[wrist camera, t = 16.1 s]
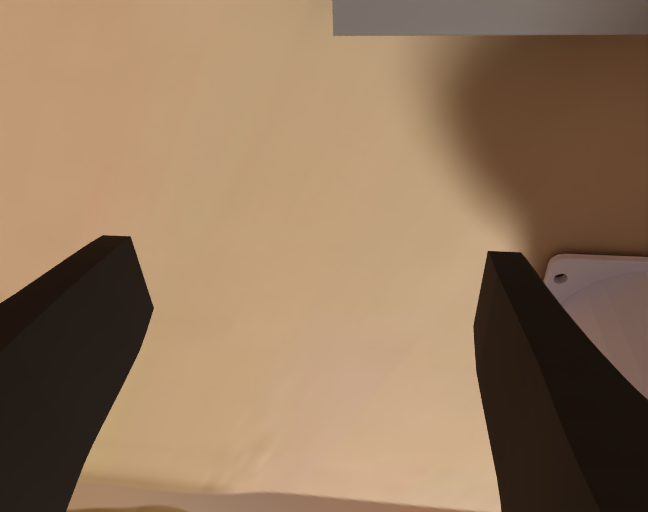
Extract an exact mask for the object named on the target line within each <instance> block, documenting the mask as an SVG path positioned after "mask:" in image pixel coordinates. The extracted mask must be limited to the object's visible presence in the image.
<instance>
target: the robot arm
mask: <svg viewBox="0 0 648 512" xmlns="http://www.w3.org/2000/svg"><path fill="white" fill-rule="evenodd" d="M558 274H564V275H563V276H561V277H555V276H556V275H558ZM153 309H154V307H153V304H152V301H151V298H150V295H149V292H148V289H147V286H146V283H145V280H144V277H143V273H142V270H141V267H140V264H139V261H138V258H137V255H136V252H135V249H134V246H133V243H132V239H131V237H130V236H105V235H103V236H101V237H99V238H98V239H96V240H94V241H93V242H91V243H89V244H88V245H86V246H85V247H83V248H82V249H80V250H79V251H77V252H76V253H74V254H73V255H71V256H70V257H68V258H67V259H65V260H64V261H62V262H61V263H60V264H58V265H57V266H55V267H54V268H52V269H51V270H49V271H48V272H46V273H45V274H44V275H42V276H41V277H39V278H38V279H36V280H35V281H33V282H32V283H30V284H29V285H27V286H26V287H24V288H23V289H22V290H20V291H19V292H17V293H16V294H14V295H13V296H11V297H10V298H8V299H6V300H5V301H3V302H2V303H0V512H66V510H67V507H68V504H69V502H70V499H71V497H72V494H73V491H74V489H75V486H76V483H77V481H78V478H79V476H80V473H81V470H82V468H83V465H84V463H85V461H86V458H87V456H88V454H89V452H90V450H91V447H92V445H93V443H94V441H95V439H96V437H97V435H98V433H99V431H100V429H101V427H102V425H103V423H104V421H105V419H106V417H107V415H108V413H109V411H110V409H111V407H112V405H113V403H114V401H115V399H116V397H117V395H118V394H119V392H120V390H121V388H122V386H123V384H124V382H125V380H126V378H127V376H128V374H129V371H130V369H131V367H132V365H133V363H134V361H135V359H136V357H137V355H138V353H139V351H140V348H141V345H142V343H143V340H144V337H145V334H146V331H147V328H148V325H149V322H150V319H151V315H152V312H153ZM473 327H474V343H475V358H476V371H477V377H478V383H479V388H480V393H481V399H482V404H483V409H484V414H485V419H486V424H487V430H488V435H489V440H490V445H491V450H492V455H493V460H494V465H495V470H496V475H497V481H498V488H499V494H500V501H501V511H502V512H648V257H636V256H611V255H587V254H558V255H556V256H554V257H553V258H551V259H550V261H549V263H548V266H547V270H546V273H545V277H544V280H543V281H542V279H541V278H540V277H539V275H538V274H537V273H536V271H535V270H534V269H533V267H532V266H531V264H530V263H529V262H528V260H527V259H526V258H525V257H524V255H523V254H522V253H521V252H497V251H488V253H487V258H486V264H485V269H484V274H483V279H482V284H481V290H480V295H479V300H478V305H477V310H476V316H475V321H474V326H473Z"/></svg>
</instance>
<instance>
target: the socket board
mask: <svg viewBox="0 0 648 512" xmlns="http://www.w3.org/2000/svg"><path fill="white" fill-rule="evenodd" d="M332 1H333V36H418V35H648V0H332Z"/></svg>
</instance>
